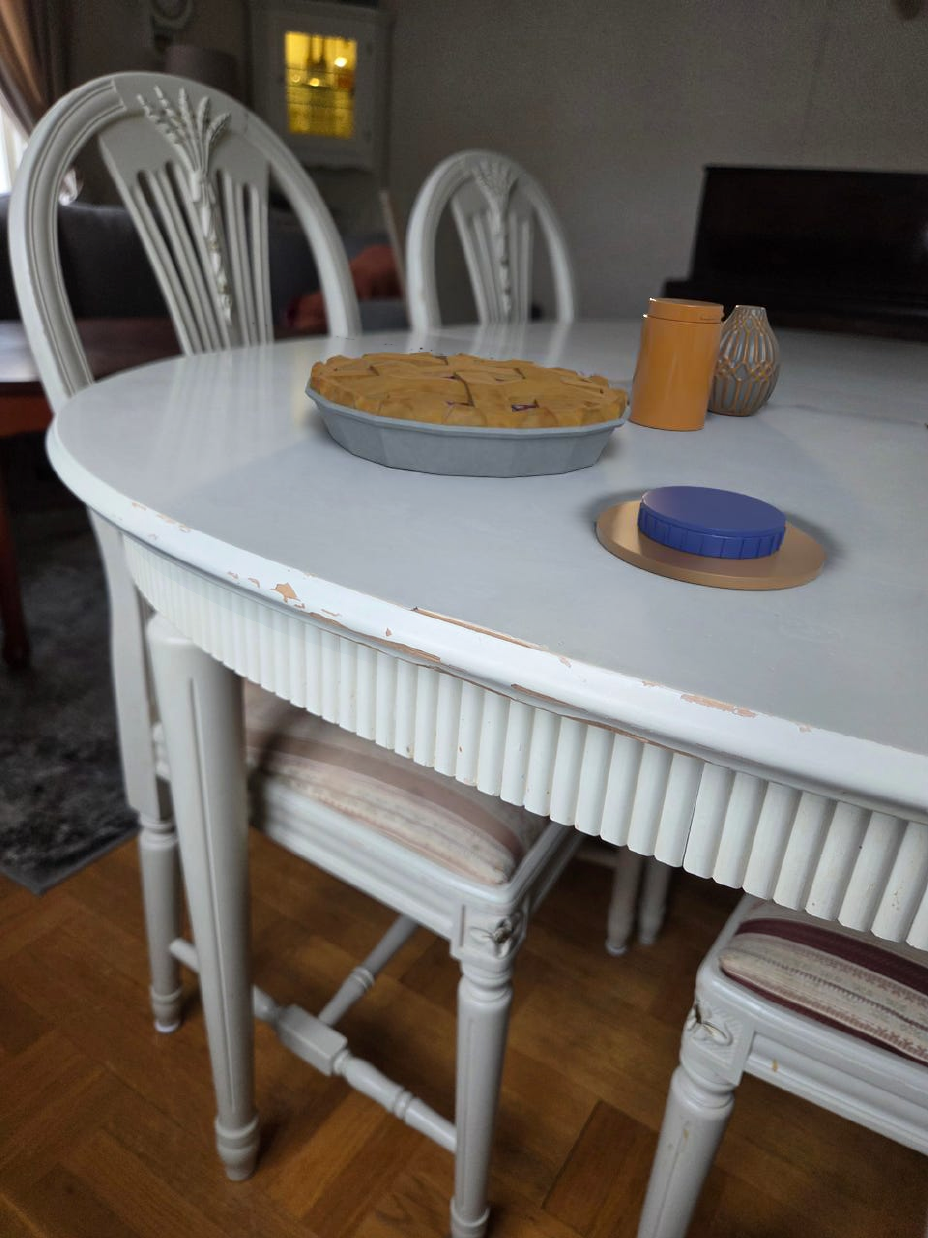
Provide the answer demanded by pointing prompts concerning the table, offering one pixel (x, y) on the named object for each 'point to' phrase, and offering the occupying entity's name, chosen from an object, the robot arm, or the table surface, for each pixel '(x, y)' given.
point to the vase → (745, 363)
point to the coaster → (776, 571)
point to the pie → (466, 413)
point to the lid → (711, 522)
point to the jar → (676, 364)
